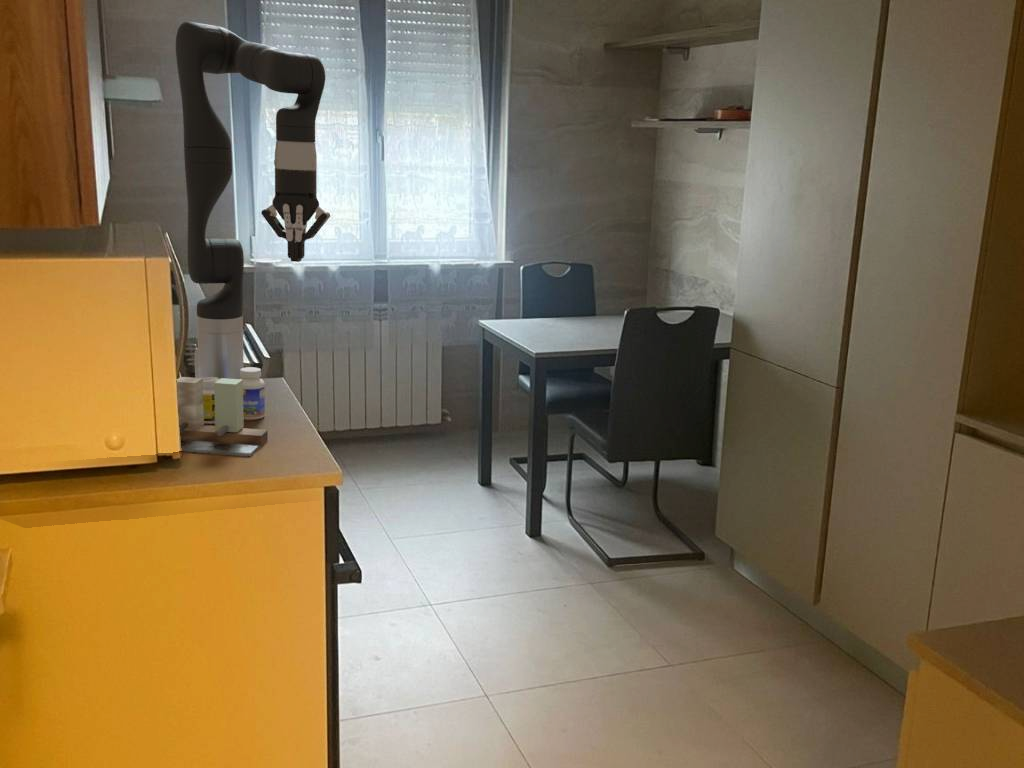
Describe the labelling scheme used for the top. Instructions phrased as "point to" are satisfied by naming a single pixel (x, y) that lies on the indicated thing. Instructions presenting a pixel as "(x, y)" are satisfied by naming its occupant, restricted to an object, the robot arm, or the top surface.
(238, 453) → the hole plate
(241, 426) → the slide leg
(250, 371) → the pill bottle
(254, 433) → the rail
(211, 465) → the top surface
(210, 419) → the supplement bottle
